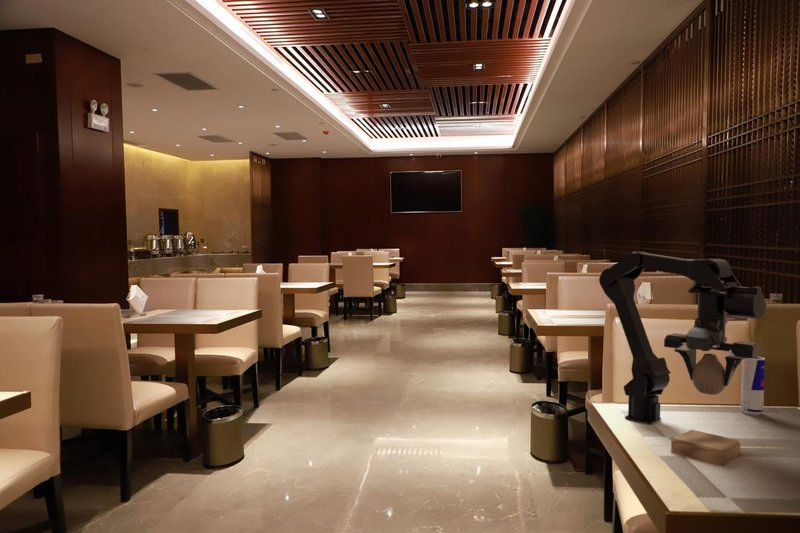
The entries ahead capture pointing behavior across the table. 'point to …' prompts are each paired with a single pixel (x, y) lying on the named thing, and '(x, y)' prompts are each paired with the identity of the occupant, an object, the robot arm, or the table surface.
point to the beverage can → (752, 385)
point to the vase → (709, 375)
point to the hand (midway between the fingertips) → (709, 382)
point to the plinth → (706, 447)
